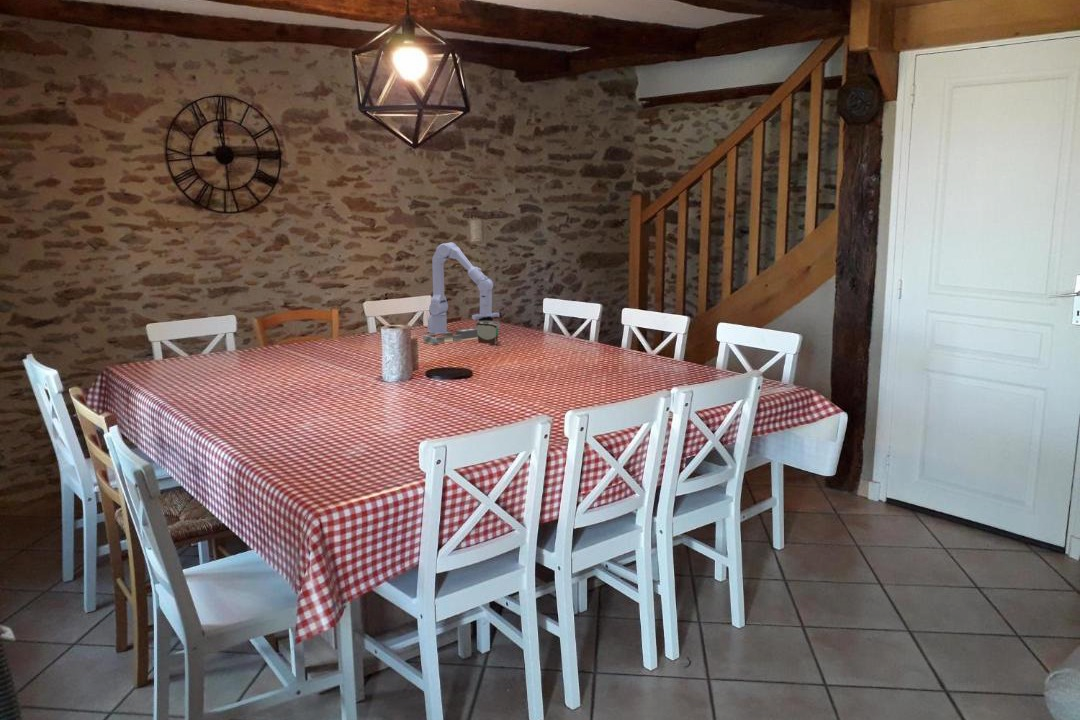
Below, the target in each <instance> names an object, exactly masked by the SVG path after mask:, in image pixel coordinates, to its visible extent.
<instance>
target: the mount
mask: <svg viewBox="0 0 1080 720" xmlns="http://www.w3.org/2000/svg"><path fill="white" fill-rule="evenodd" d="M422 337H423V340H420V343H423V344H426V345H428V346H429V345H430V346H438V345H441V344H445V343H446V344H447V343H453V342H461V341H469V340H478V337H475V338H467V339H462V335H456V334H454V332H453V331H448V332H447V333H443V336H437V337H436V334H434V333H430V334H423V336H422Z"/></svg>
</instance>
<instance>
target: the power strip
mask: <svg viewBox="0 0 1080 720" xmlns="http://www.w3.org/2000/svg"><path fill="white" fill-rule="evenodd" d="M455 335H462V339H467V338H475V337H478V335H477V327H472V328H466V329H463V328H462V329H458V330H455Z"/></svg>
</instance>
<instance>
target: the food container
mask: <svg viewBox="0 0 1080 720" xmlns="http://www.w3.org/2000/svg"><path fill="white" fill-rule="evenodd" d="M475 327H476V328H477V335H478V339H477V343H482V344H487V345H488V346H493V347H495V346H497V345H498V338H499V331H500V330H499V329H501V326H500V322H499V321H496V320H495V321H494V320H493V321H479V320H477V321H476V323H475Z"/></svg>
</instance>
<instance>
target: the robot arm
mask: <svg viewBox="0 0 1080 720" xmlns="http://www.w3.org/2000/svg"><path fill="white" fill-rule="evenodd" d="M448 258H449V259H454V260H456V261H458V263H459V264H461V265H462V266H463V267H464V269H465V270H466V271H467V275H468V277H469V278H470V279H471V280H472V281H473V282H474V283H475V284H476V285H477V290H479V313H475V314H472V315H471V319H472V320H474V321H475V320H478V321H494V319H493V318H500V312H493V307H492V305H493V301H492V300H493V297H492V296H493V295H492V294H493V293H492V291H493V290H492V289H494V282H493V280H492V279H491V278H489V277H488V276H487V275H485V274H484V273H483V272H482V268H480V267H478V266H474V265H473V264H472V263H471V262H470V260H469V259H468V258H467V257H466V255H465V254H464V252H462V250H461V249H460V247H459V246H457V245H456V243H455V242H452V241H450V242H444V243H441V244H439V245H438V246H437V247H436V249H435V252H434V253H433V256H432V258H431V259H432V260H431V261H432V265H431V267H432V269H431V272H432V297H431V299H430V303H429V307H428V310H429V312H430V315H429V316H428V318H427V330H426V333H428V332H429V334H435V335H440V334H444V333H447V332H449V331H447V328H448V327H447V326H448V325H447V323H448V321H447V311H448V310H449V303H448V301H447V297H446V295H445V272H444V271H445V269H444V268H445V266H444V265H445V264H444V263H445V262H446V260H448Z"/></svg>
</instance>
